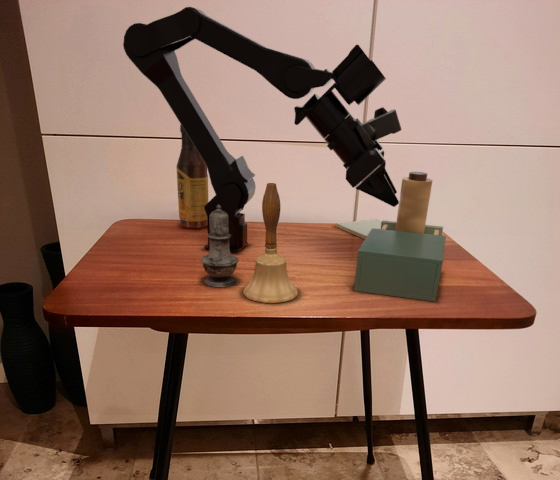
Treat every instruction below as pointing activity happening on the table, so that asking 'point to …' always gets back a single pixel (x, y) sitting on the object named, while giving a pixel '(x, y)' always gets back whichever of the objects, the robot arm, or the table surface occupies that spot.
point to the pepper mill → (413, 203)
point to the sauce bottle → (191, 185)
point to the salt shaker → (219, 252)
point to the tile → (360, 227)
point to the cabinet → (400, 264)
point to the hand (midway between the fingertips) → (395, 199)
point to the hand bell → (270, 259)
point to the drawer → (428, 230)
